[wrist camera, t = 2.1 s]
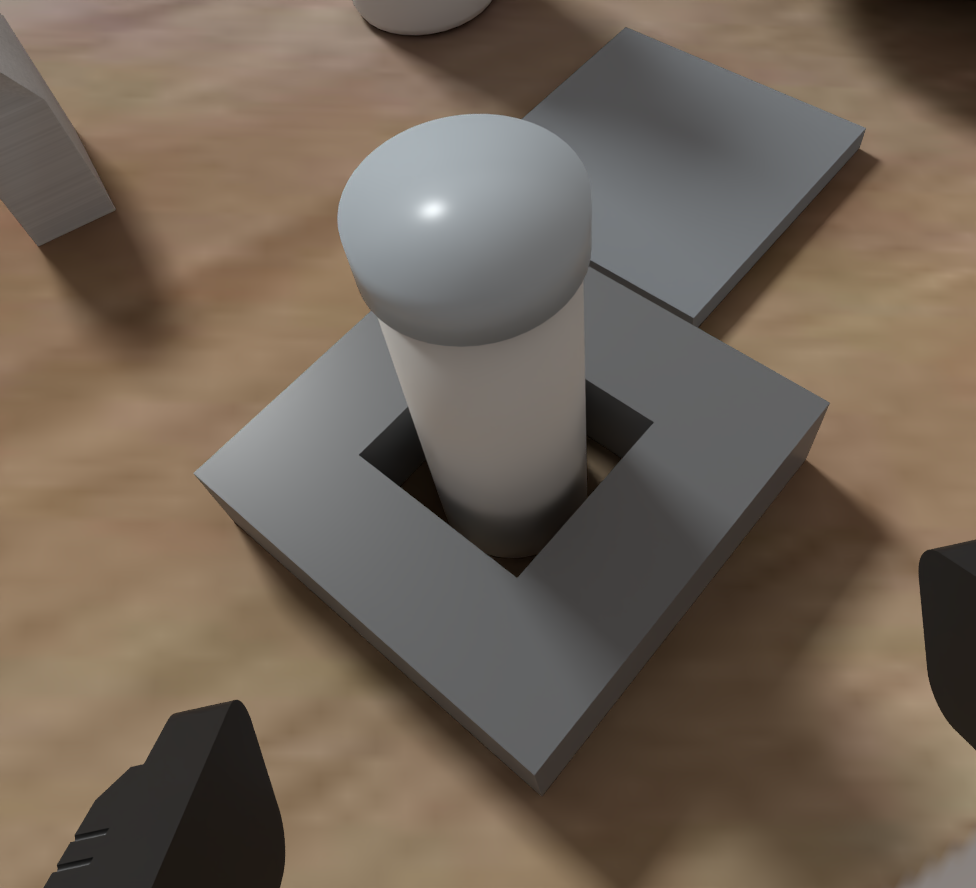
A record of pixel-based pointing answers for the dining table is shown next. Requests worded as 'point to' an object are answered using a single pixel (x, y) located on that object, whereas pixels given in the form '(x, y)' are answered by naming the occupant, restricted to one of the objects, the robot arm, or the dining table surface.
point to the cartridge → (483, 314)
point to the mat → (689, 167)
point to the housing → (568, 555)
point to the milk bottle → (419, 14)
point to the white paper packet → (42, 153)
